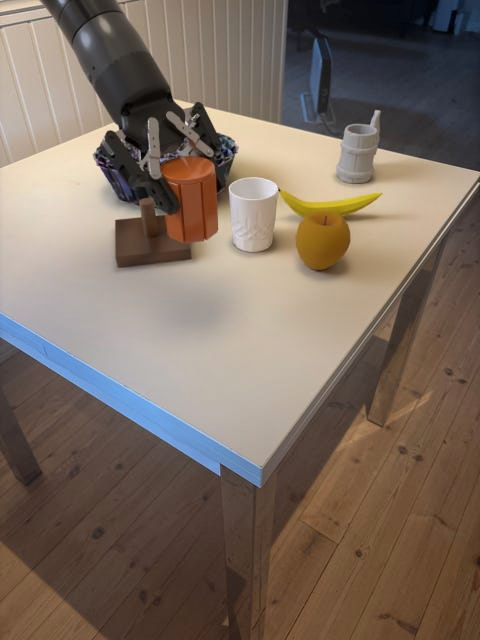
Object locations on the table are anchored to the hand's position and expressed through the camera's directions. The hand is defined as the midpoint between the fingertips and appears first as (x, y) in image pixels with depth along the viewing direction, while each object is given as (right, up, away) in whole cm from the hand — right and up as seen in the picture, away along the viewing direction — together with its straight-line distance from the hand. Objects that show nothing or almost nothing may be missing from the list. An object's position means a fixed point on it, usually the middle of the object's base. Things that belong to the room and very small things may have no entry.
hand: (198, 200), depth 56 cm
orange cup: (-1, -3, +4) cm, 5 cm away
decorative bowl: (-9, +13, +44) cm, 47 cm away
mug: (+30, +17, +48) cm, 59 cm away
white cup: (+7, -1, +28) cm, 29 cm away
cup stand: (-10, -1, +27) cm, 29 cm away
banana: (+21, +5, +33) cm, 40 cm away
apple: (+18, -5, +22) cm, 29 cm away
